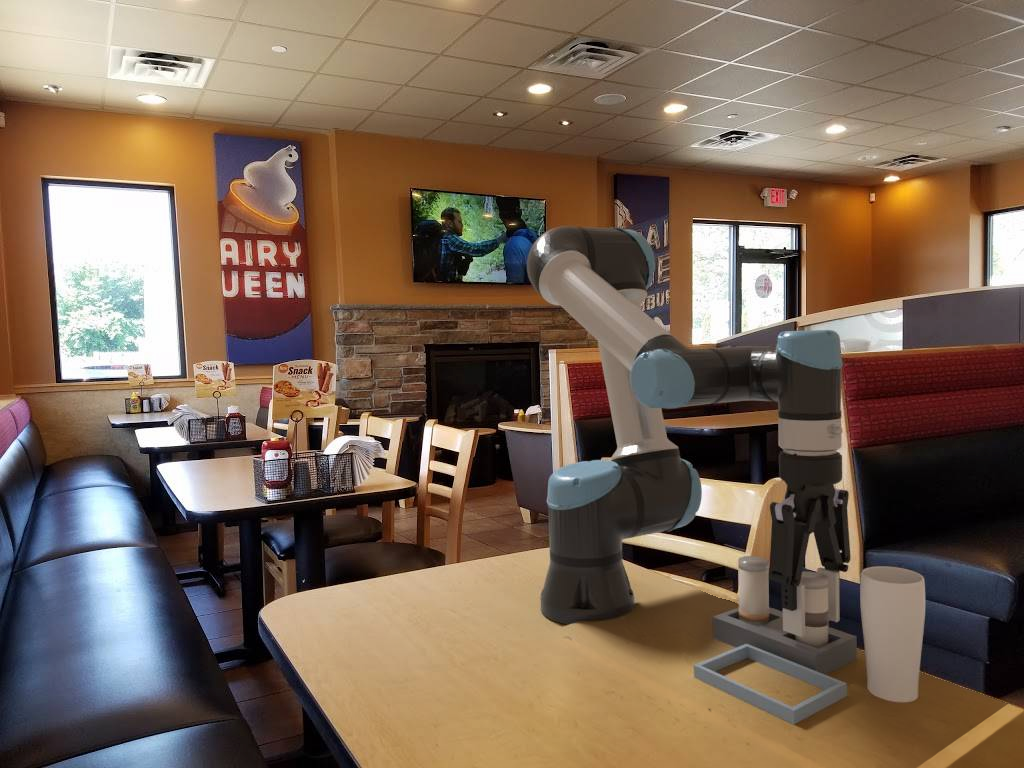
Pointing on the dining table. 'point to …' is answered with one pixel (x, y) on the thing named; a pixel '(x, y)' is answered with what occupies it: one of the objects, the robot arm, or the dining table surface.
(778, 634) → the fuse block
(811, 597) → the cylinder
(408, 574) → the dining table surface
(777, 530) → the robot arm
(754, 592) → the fuse
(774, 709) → the parts tray
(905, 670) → the drinking glass
